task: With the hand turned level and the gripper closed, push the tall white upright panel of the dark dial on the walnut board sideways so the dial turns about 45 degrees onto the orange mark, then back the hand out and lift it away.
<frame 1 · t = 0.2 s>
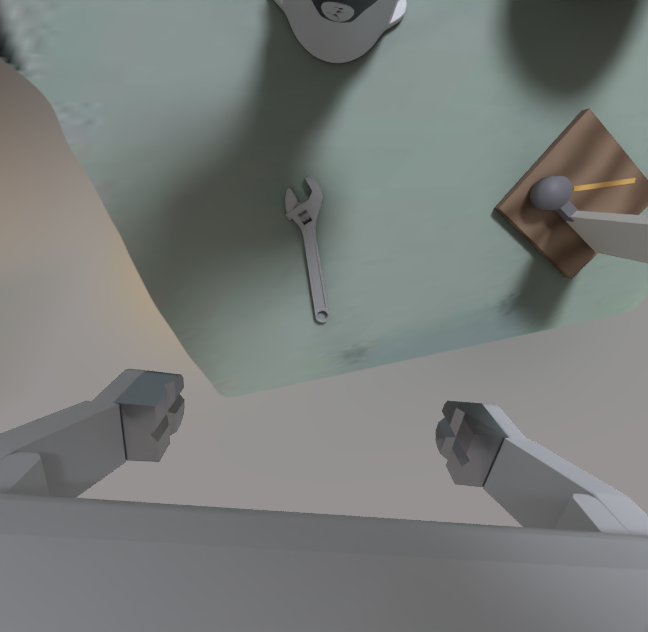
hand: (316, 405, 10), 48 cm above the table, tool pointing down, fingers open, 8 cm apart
dial board: (536, 193, 54), on the table
white upright panel: (609, 221, 46), point 10 cm above the table, hinge at 0.0°
adjustable wrench: (308, 254, 57), on the table
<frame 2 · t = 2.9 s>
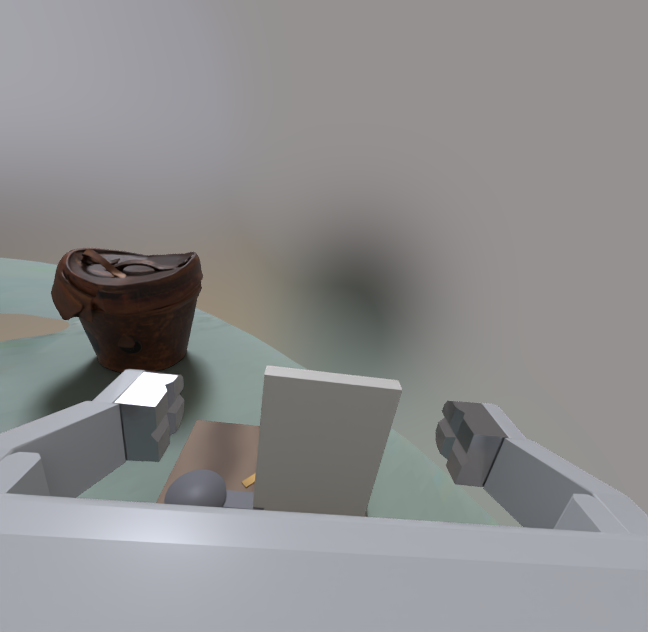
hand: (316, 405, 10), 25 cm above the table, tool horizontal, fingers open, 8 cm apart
case: (142, 354, 53), on the table
dial board: (196, 527, 29), on the table
white upright panel: (273, 453, 26), point 10 cm above the table, hinge at 0.0°
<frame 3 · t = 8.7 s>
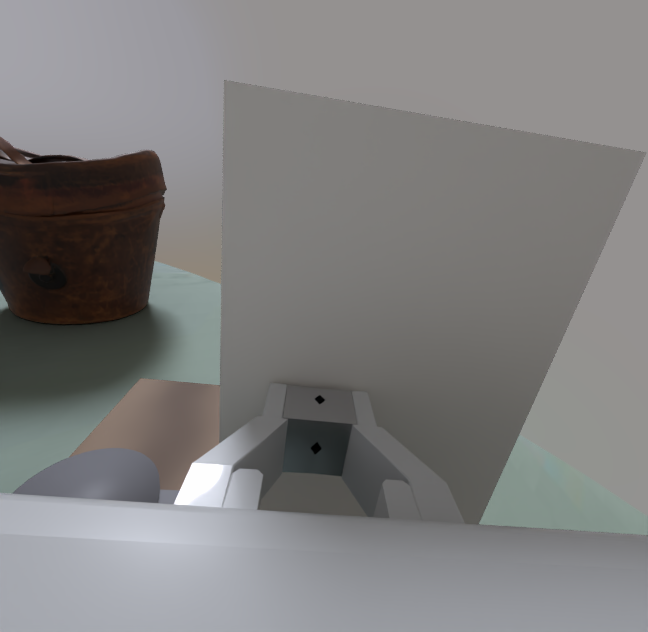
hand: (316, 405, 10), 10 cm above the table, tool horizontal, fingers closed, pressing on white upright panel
case: (83, 306, 38), on the table
dial board: (98, 576, 13), on the table
white upright panel: (263, 387, 10), point 10 cm above the table, hinge at 1.2°, touching gripper
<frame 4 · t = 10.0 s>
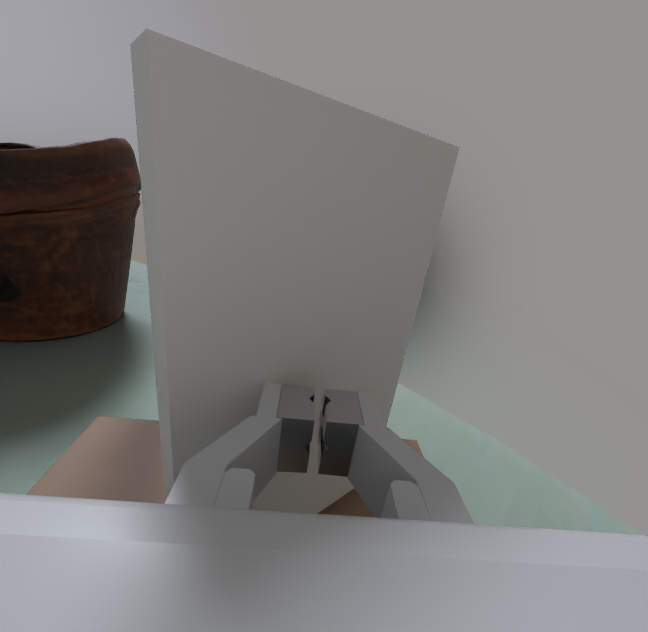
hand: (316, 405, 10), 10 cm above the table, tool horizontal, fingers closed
case: (48, 317, 33), on the table
white upright panel: (210, 397, 9), point 10 cm above the table, hinge at 37.1°, touching gripper
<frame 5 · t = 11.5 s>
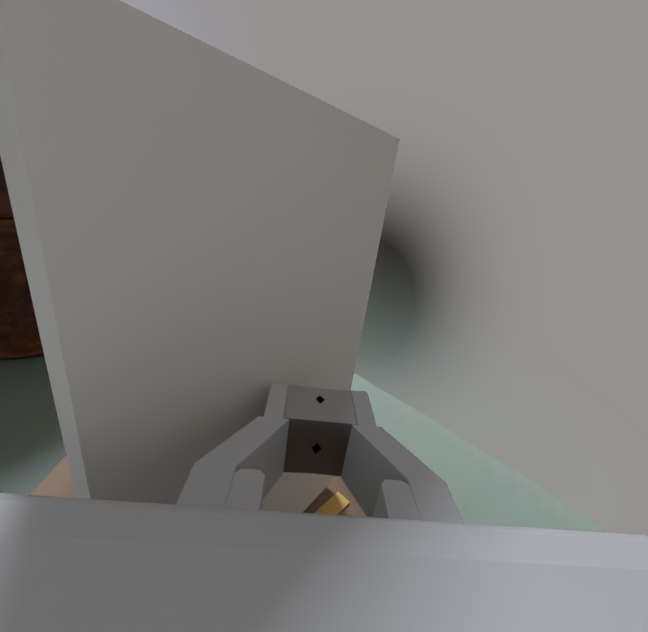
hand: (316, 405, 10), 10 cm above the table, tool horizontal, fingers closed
case: (28, 331, 30), on the table
white upright panel: (142, 446, 7), point 10 cm above the table, hinge at 50.5°, touching gripper
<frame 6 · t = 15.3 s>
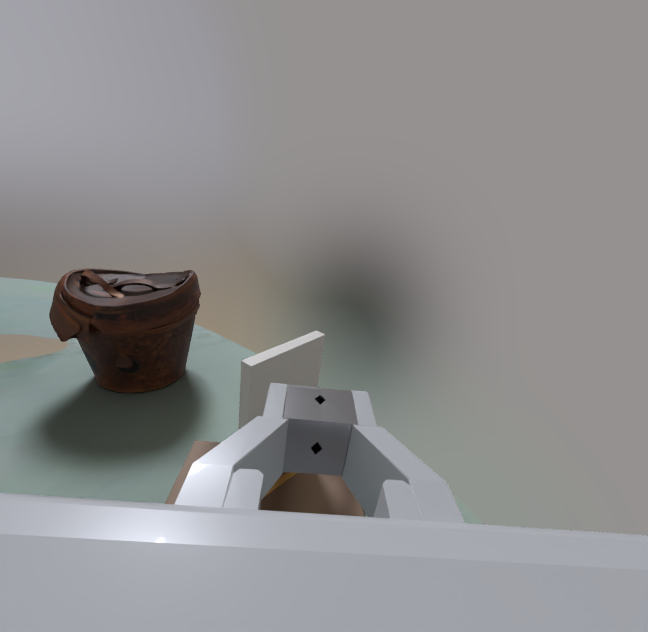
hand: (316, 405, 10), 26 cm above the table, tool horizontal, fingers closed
case: (141, 373, 53), on the table
dial board: (194, 553, 29), on the table
white upright panel: (253, 432, 30), point 10 cm above the table, hinge at 50.7°
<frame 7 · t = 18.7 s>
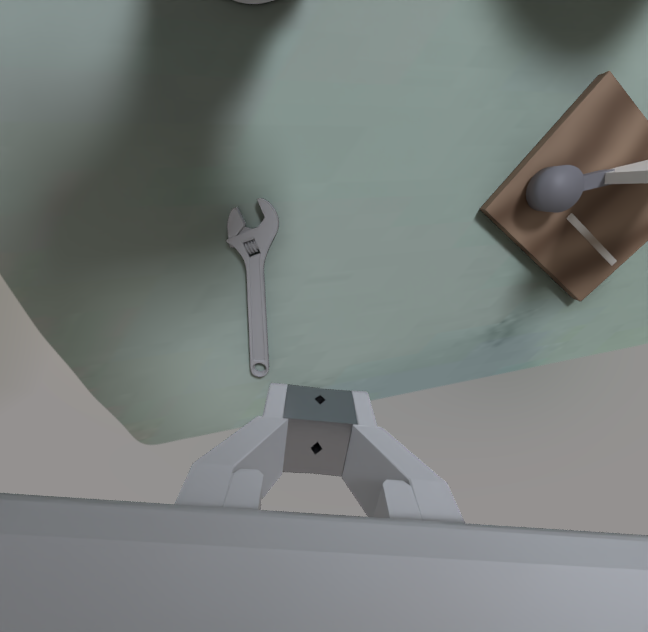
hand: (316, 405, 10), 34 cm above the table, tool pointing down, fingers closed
dial board: (535, 189, 40), on the table
adjustable wrench: (252, 291, 44), on the table
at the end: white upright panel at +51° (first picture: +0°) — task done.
